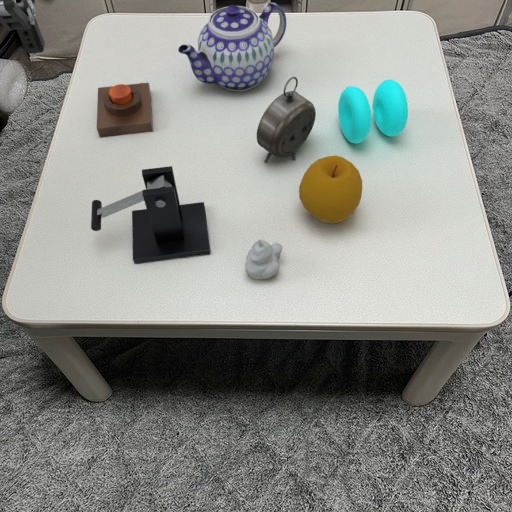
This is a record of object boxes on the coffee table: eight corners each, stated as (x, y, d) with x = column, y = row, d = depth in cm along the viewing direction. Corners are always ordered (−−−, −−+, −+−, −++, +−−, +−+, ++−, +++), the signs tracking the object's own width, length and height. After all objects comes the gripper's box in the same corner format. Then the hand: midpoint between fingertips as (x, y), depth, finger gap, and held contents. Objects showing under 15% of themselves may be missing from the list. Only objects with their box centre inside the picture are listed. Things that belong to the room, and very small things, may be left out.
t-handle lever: (97, 234, 77) (86, 225, 75) (97, 208, 80) (87, 200, 78) (173, 202, 74) (164, 193, 72) (171, 177, 77) (162, 167, 75)
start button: (111, 106, 97) (108, 98, 95) (111, 92, 99) (109, 85, 97) (132, 104, 97) (130, 96, 95) (132, 90, 99) (130, 83, 98)
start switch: (99, 137, 97) (93, 120, 94) (100, 96, 104) (95, 79, 101) (152, 131, 98) (148, 114, 95) (150, 91, 105) (146, 74, 101)
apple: (291, 230, 84) (295, 181, 74) (304, 187, 89) (309, 136, 80) (351, 243, 83) (362, 194, 73) (360, 198, 88) (372, 147, 78)
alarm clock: (296, 132, 97) (301, 56, 84) (317, 146, 95) (326, 70, 82) (255, 161, 93) (253, 86, 80) (276, 177, 91) (278, 102, 77)
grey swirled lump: (236, 268, 80) (234, 238, 73) (268, 246, 82) (269, 214, 76) (259, 291, 78) (259, 262, 71) (291, 268, 80) (294, 237, 73)
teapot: (265, 38, 115) (265, -31, 102) (307, 72, 107) (313, 3, 95) (166, 79, 107) (153, 10, 94) (205, 120, 100) (196, 50, 87)
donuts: (402, 146, 95) (416, 102, 87) (351, 156, 94) (360, 112, 85) (382, 111, 100) (392, 66, 92) (333, 120, 99) (339, 76, 91)
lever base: (134, 264, 81) (115, 212, 70) (133, 215, 86) (115, 160, 76) (210, 254, 82) (202, 201, 71) (204, 206, 87) (196, 150, 77)
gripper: (-56, -134, 53) (11, 22, 68) (-84, -77, 46) (-2, 86, 60) (18, -140, 54) (69, 17, 68) (2, -84, 47) (63, 79, 61)
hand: (36, 49), depth 64 cm, fingers closed
